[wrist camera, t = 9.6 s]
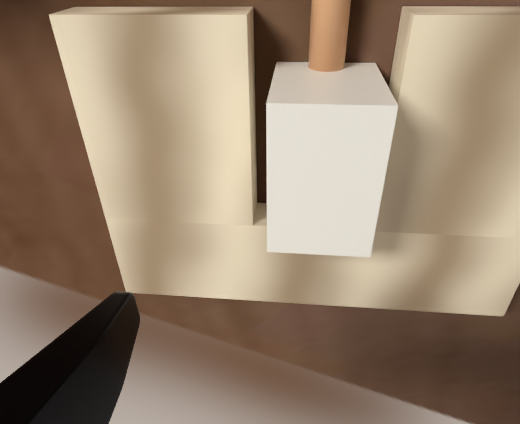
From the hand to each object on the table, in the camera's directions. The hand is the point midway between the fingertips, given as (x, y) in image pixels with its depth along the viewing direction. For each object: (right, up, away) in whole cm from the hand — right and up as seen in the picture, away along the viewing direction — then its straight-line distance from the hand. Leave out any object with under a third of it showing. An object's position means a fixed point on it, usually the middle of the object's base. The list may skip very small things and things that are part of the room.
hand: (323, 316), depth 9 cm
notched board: (+1, +4, +10) cm, 11 cm away
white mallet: (+1, +10, +6) cm, 12 cm away
